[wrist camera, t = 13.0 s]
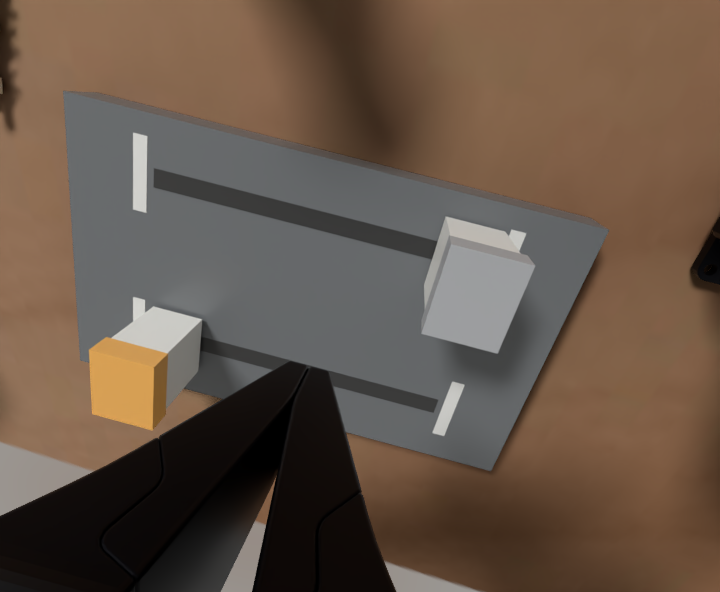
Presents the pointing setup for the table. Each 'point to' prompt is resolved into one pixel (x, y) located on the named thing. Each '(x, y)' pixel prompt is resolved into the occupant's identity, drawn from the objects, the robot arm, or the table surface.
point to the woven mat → (0, 87)
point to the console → (307, 269)
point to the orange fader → (144, 367)
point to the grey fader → (473, 285)
